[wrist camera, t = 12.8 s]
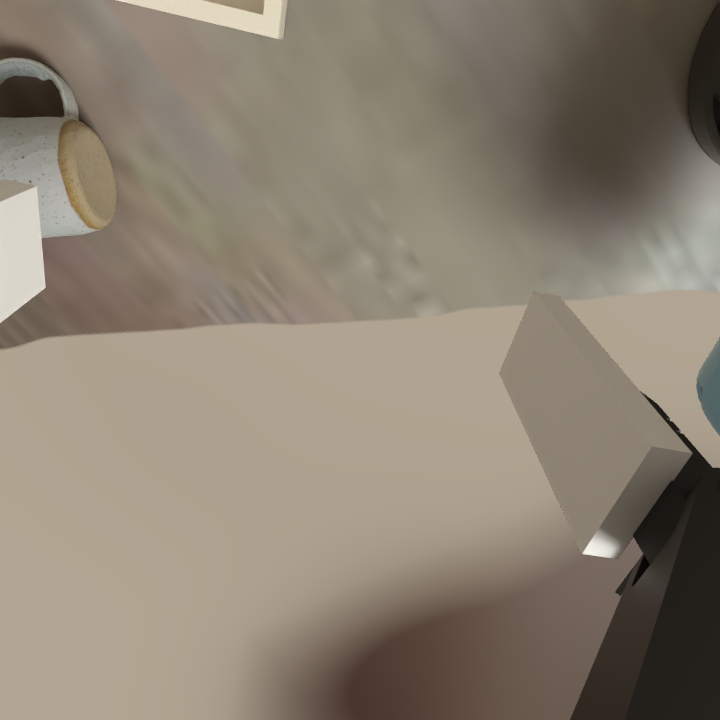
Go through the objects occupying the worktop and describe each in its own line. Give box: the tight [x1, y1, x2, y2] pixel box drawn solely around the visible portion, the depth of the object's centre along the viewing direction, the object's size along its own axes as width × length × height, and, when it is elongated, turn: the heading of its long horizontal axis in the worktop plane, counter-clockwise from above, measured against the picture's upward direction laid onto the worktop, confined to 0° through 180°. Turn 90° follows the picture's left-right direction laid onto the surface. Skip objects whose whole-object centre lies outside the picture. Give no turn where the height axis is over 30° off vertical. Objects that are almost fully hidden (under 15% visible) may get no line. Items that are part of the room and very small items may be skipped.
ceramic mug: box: [0, 58, 117, 238], centre depth 33 cm, size 11×8×8 cm
